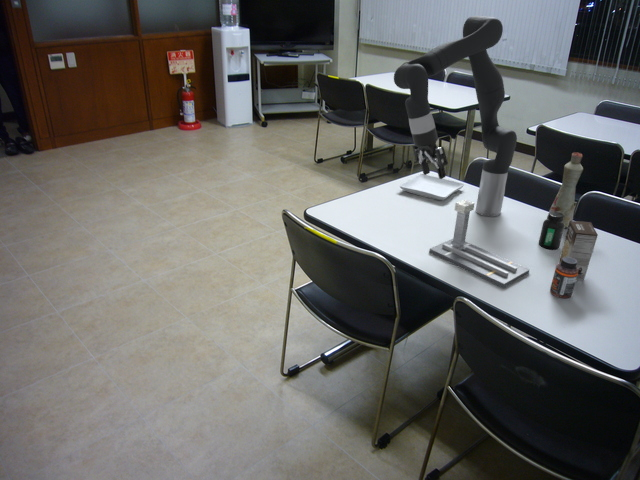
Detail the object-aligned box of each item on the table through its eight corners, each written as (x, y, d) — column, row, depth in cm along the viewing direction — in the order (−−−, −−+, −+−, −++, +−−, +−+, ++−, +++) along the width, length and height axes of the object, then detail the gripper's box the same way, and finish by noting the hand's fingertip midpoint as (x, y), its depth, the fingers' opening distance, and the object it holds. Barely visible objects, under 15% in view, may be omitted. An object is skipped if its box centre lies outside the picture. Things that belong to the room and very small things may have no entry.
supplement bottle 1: (548, 252, 177) (556, 219, 171) (533, 243, 182) (541, 211, 177) (563, 248, 179) (572, 216, 174) (548, 240, 185) (556, 208, 179)
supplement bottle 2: (545, 288, 156) (554, 254, 151) (565, 287, 156) (574, 254, 151) (555, 299, 150) (564, 265, 145) (575, 298, 151) (585, 264, 146)
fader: (457, 244, 176) (464, 199, 169) (467, 249, 173) (475, 203, 166) (448, 248, 173) (455, 202, 166) (458, 253, 171) (465, 206, 163)
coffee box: (557, 264, 169) (568, 219, 162) (578, 267, 168) (591, 221, 160) (562, 279, 161) (575, 232, 153) (585, 281, 160) (599, 234, 152)
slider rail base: (455, 241, 182) (456, 234, 181) (528, 273, 163) (530, 266, 162) (429, 252, 174) (430, 245, 173) (503, 288, 155) (504, 280, 154)
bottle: (564, 231, 191) (584, 157, 179) (541, 223, 197) (558, 151, 185) (575, 225, 197) (595, 153, 184) (552, 217, 203) (570, 147, 190)
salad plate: (419, 179, 238) (420, 172, 236) (464, 190, 227) (465, 183, 226) (397, 193, 223) (398, 185, 221) (444, 205, 212) (445, 197, 210)
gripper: (446, 125, 159) (457, 174, 165) (419, 122, 171) (430, 167, 178) (426, 135, 157) (438, 184, 163) (400, 131, 169) (412, 176, 176)
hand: (434, 175), depth 170 cm, fingers open, 8 cm apart
